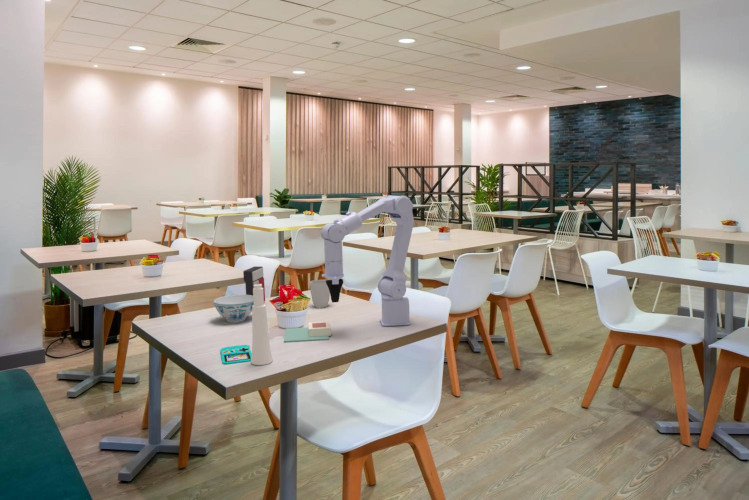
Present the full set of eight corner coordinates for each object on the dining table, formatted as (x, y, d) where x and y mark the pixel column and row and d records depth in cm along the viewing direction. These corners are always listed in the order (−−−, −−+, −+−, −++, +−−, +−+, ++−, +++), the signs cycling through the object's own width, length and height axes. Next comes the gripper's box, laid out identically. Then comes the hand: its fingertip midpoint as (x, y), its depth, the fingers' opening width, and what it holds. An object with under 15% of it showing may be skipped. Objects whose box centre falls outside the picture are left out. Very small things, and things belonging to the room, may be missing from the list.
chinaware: (261, 314, 205) (260, 294, 204) (251, 325, 190) (250, 303, 189) (222, 314, 205) (221, 294, 204) (209, 325, 190) (207, 304, 189)
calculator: (255, 308, 214) (253, 271, 212) (245, 308, 215) (243, 270, 213) (266, 302, 225) (264, 266, 223) (256, 301, 226) (254, 266, 224)
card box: (329, 321, 181) (308, 322, 181) (330, 327, 174) (308, 328, 173) (329, 328, 182) (308, 329, 181) (331, 335, 174) (309, 336, 173)
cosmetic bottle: (246, 364, 150) (242, 286, 147) (258, 357, 156) (254, 281, 153) (265, 366, 148) (261, 287, 145) (276, 359, 154) (273, 282, 151)
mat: (327, 327, 185) (327, 326, 185) (328, 339, 171) (328, 338, 171) (285, 329, 183) (285, 328, 183) (284, 342, 169) (283, 341, 169)
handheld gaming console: (248, 343, 167) (253, 358, 153) (248, 346, 167) (253, 362, 153) (219, 346, 164) (222, 362, 150) (220, 350, 164) (222, 366, 150)
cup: (334, 304, 217) (333, 280, 216) (324, 309, 210) (323, 284, 208) (317, 303, 220) (316, 279, 219) (306, 307, 213) (305, 282, 212)
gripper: (320, 257, 182) (322, 297, 183) (321, 264, 167) (323, 307, 169) (341, 257, 182) (343, 296, 184) (344, 263, 168) (346, 306, 170)
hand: (335, 301), depth 177 cm, fingers closed
